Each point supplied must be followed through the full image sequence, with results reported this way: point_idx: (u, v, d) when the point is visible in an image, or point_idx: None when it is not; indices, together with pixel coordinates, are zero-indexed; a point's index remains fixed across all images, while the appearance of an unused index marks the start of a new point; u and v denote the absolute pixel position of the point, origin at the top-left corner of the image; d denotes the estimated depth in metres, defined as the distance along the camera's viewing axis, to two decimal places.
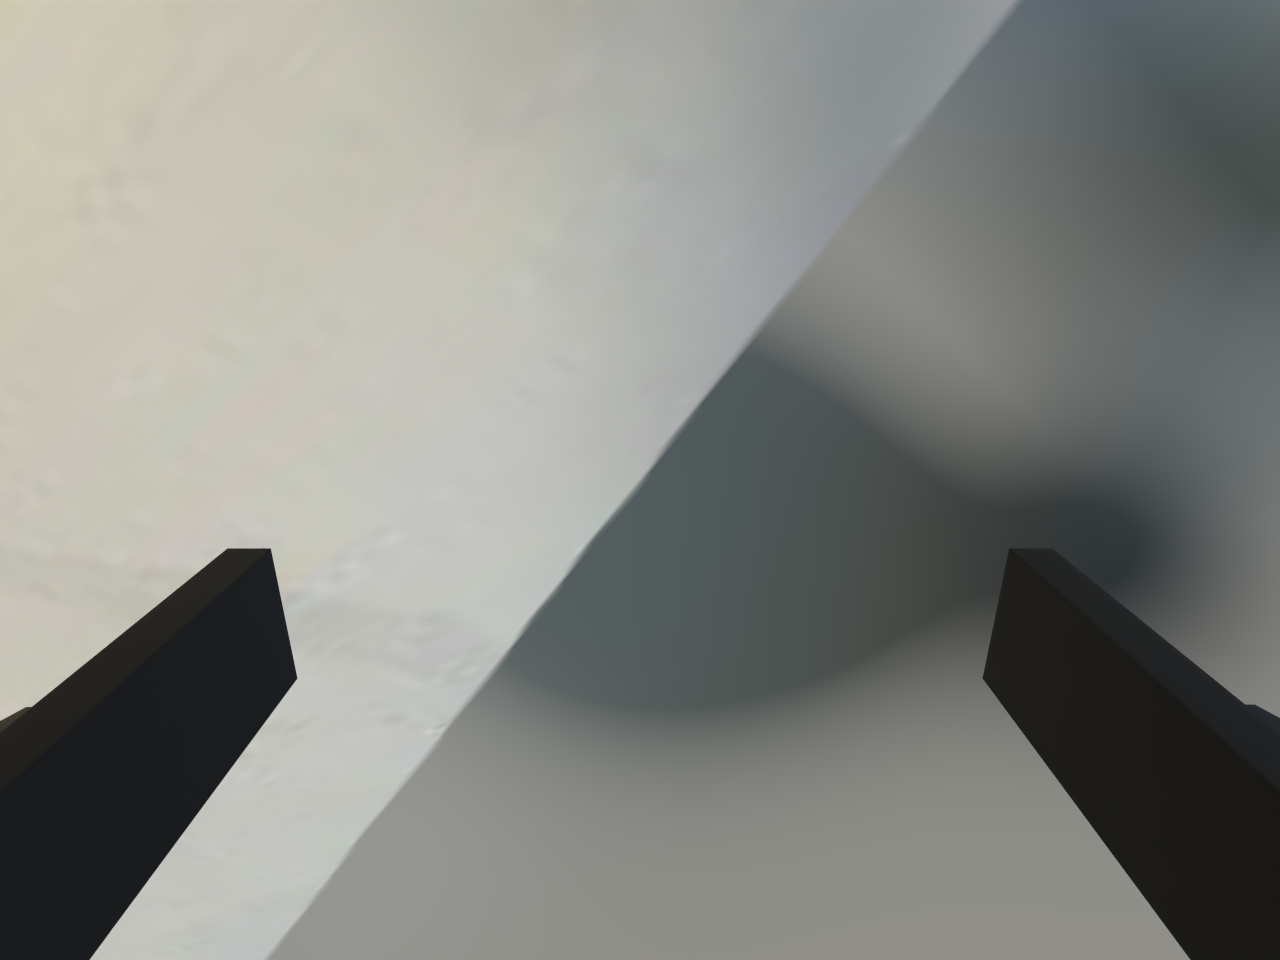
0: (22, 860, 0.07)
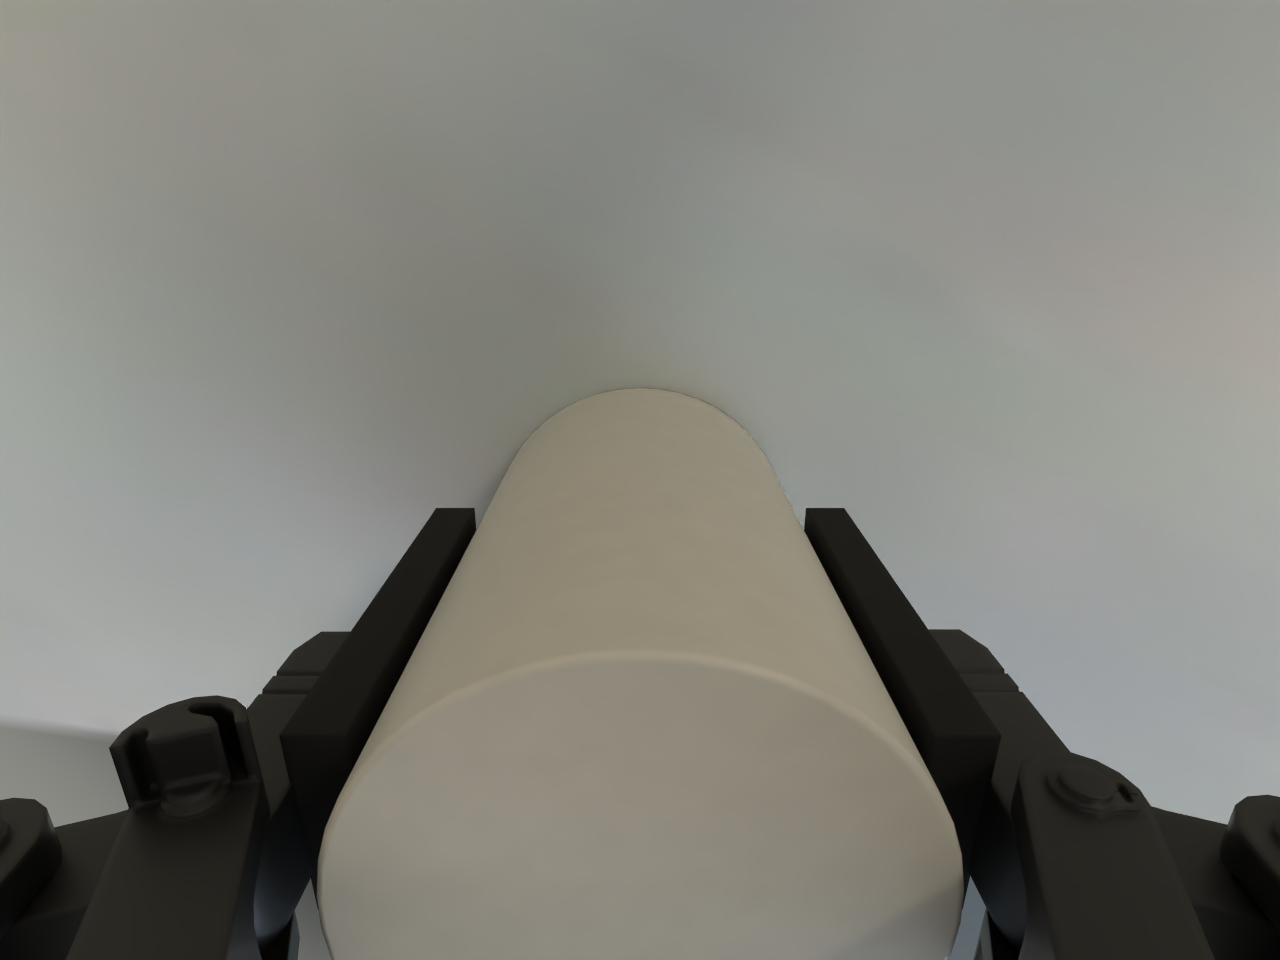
0: None
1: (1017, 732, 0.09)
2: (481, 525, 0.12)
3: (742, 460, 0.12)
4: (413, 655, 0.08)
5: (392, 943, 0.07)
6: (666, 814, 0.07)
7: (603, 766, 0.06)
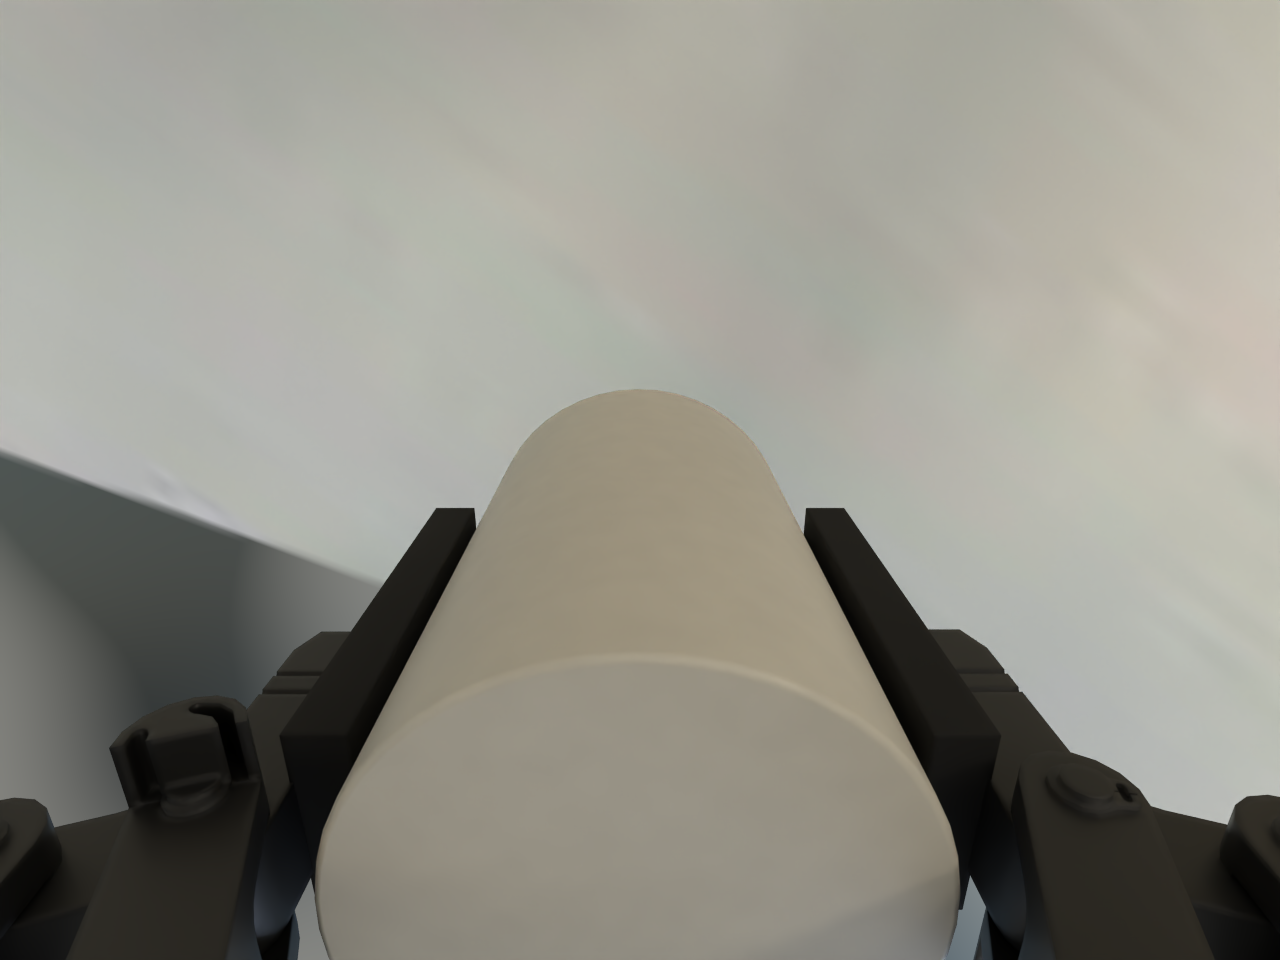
0: None
1: (1017, 732, 0.09)
2: (480, 526, 0.12)
3: (740, 461, 0.12)
4: (411, 656, 0.08)
5: (390, 944, 0.07)
6: (663, 815, 0.07)
7: (600, 768, 0.06)
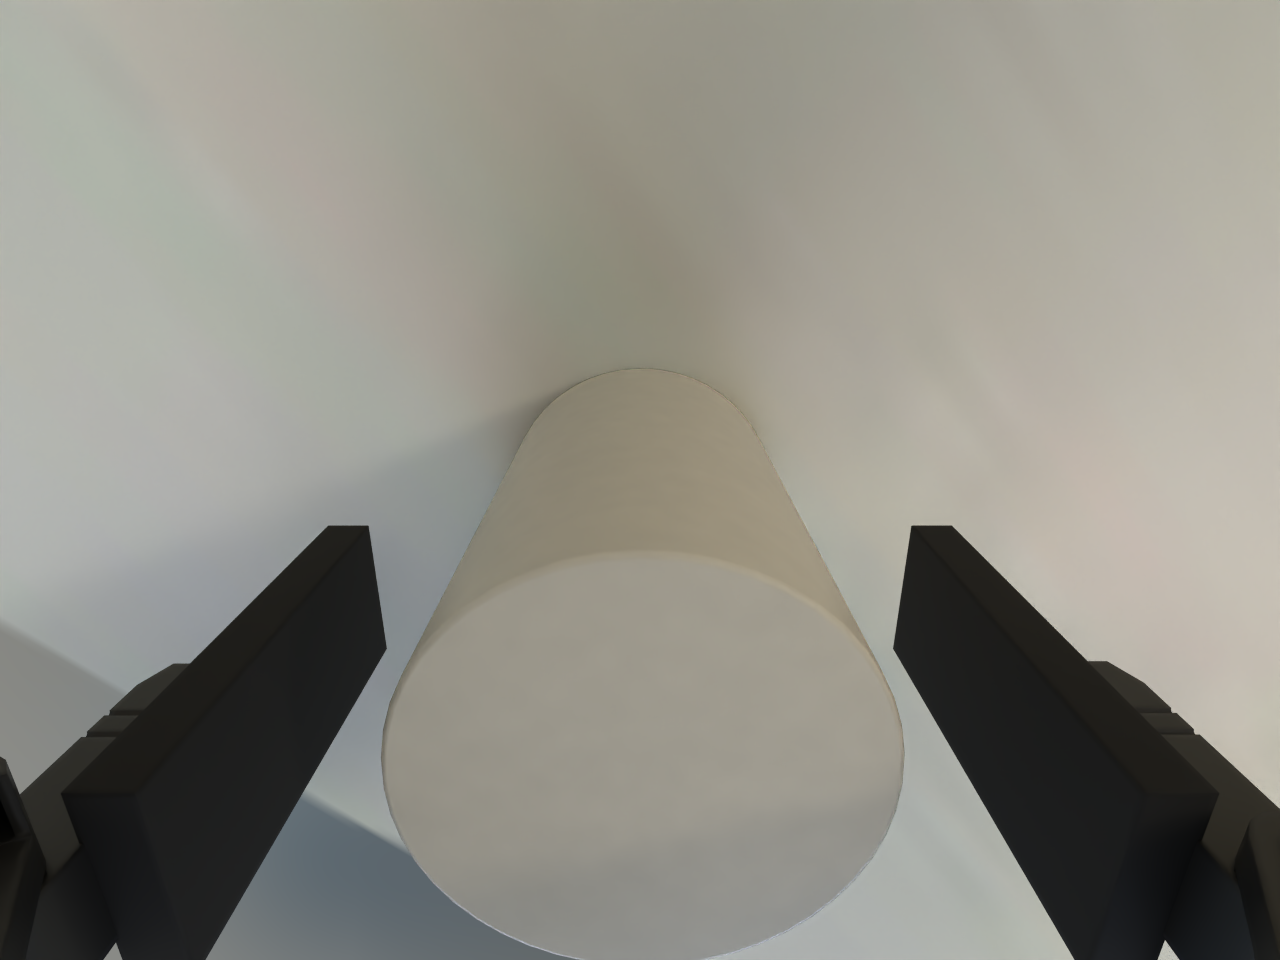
0: (205, 789, 0.08)
1: (1210, 783, 0.08)
2: (503, 483, 0.13)
3: (731, 428, 0.14)
4: (453, 577, 0.10)
5: (441, 801, 0.09)
6: (663, 688, 0.08)
7: (613, 647, 0.08)
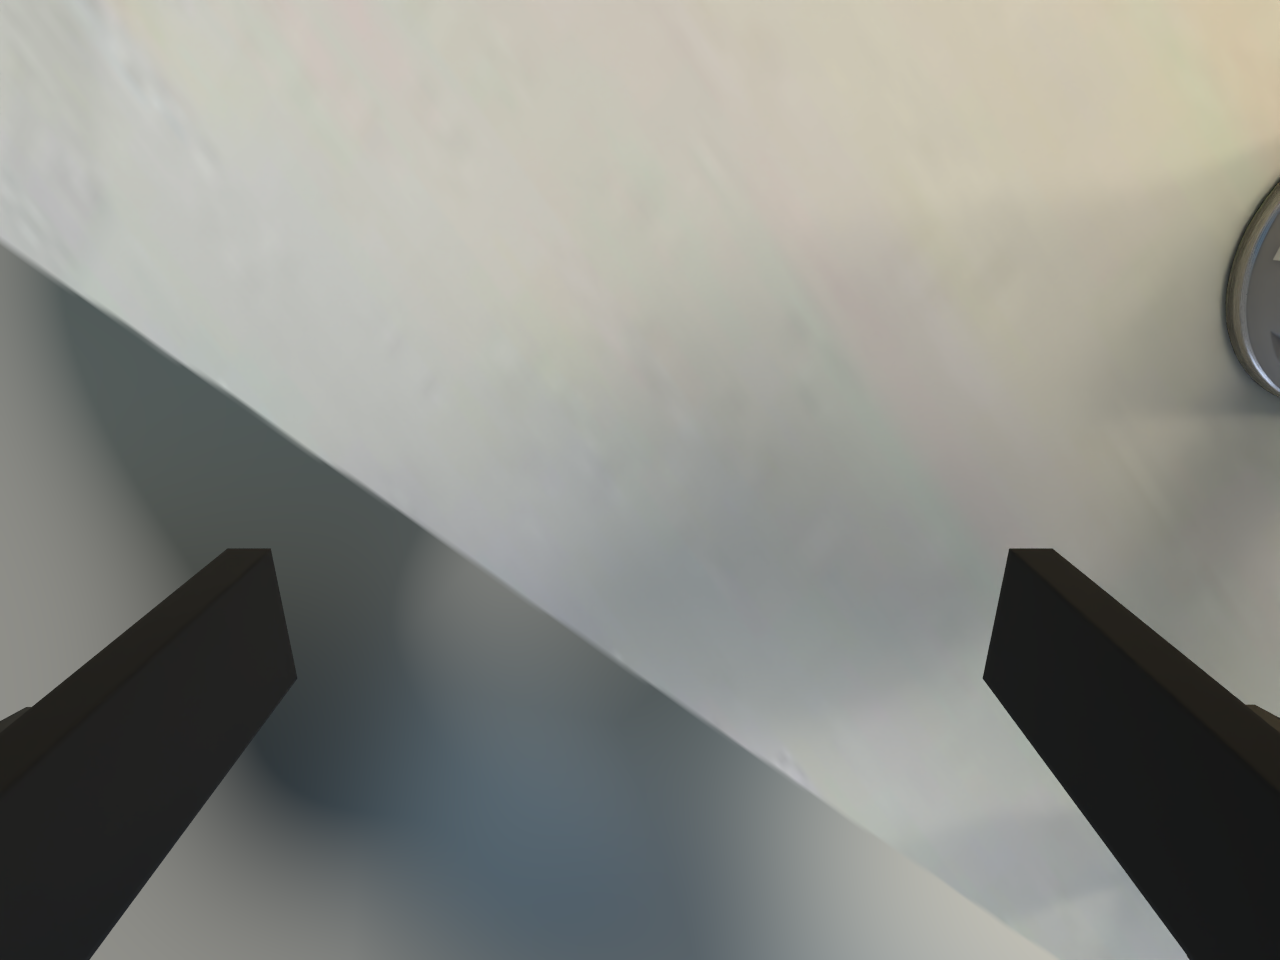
0: (21, 860, 0.07)
1: None
2: None
3: None
4: None
5: None
6: None
7: None
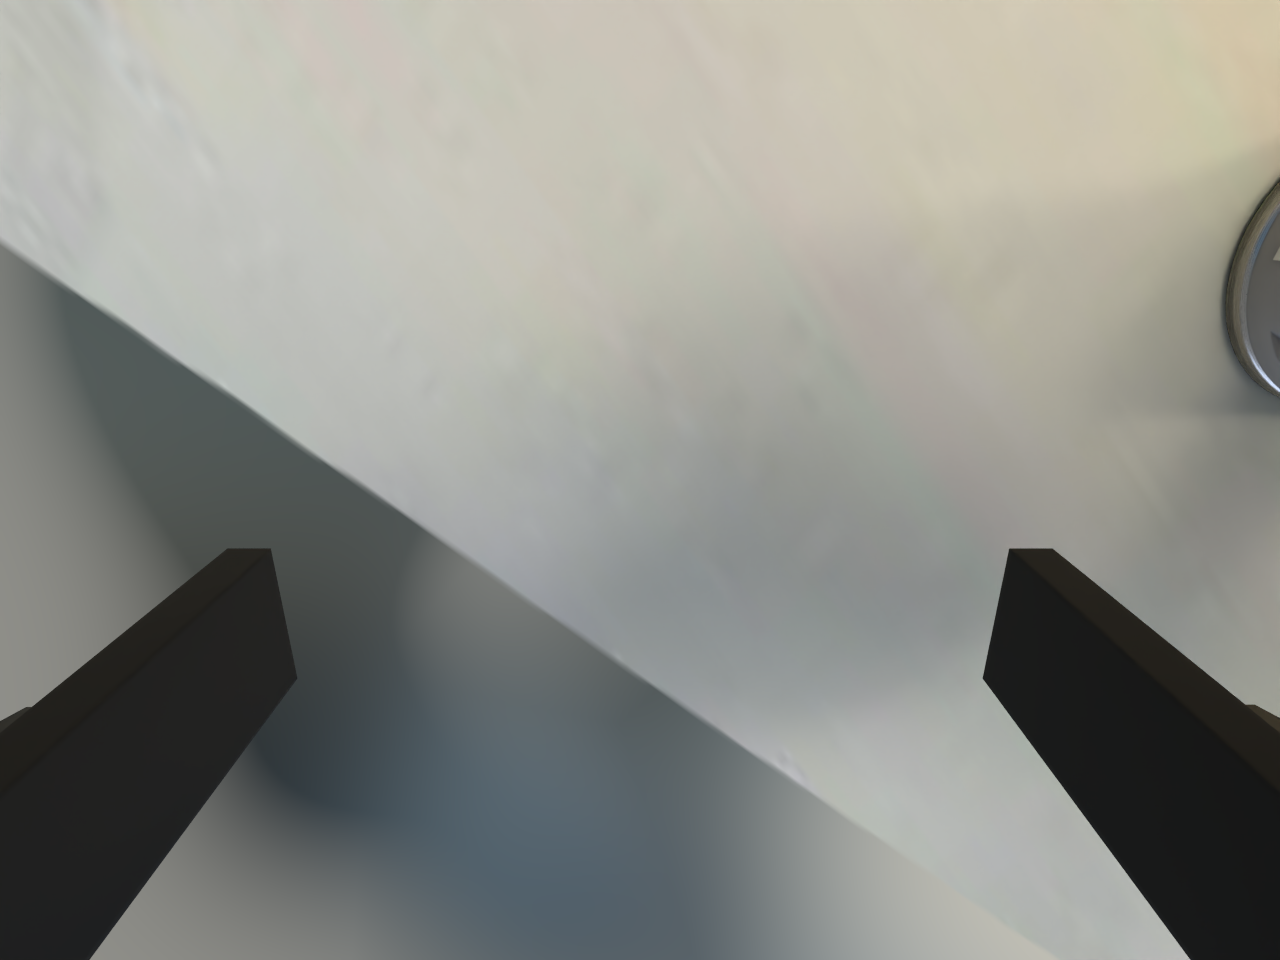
0: (21, 860, 0.07)
1: None
2: None
3: None
4: None
5: None
6: None
7: None
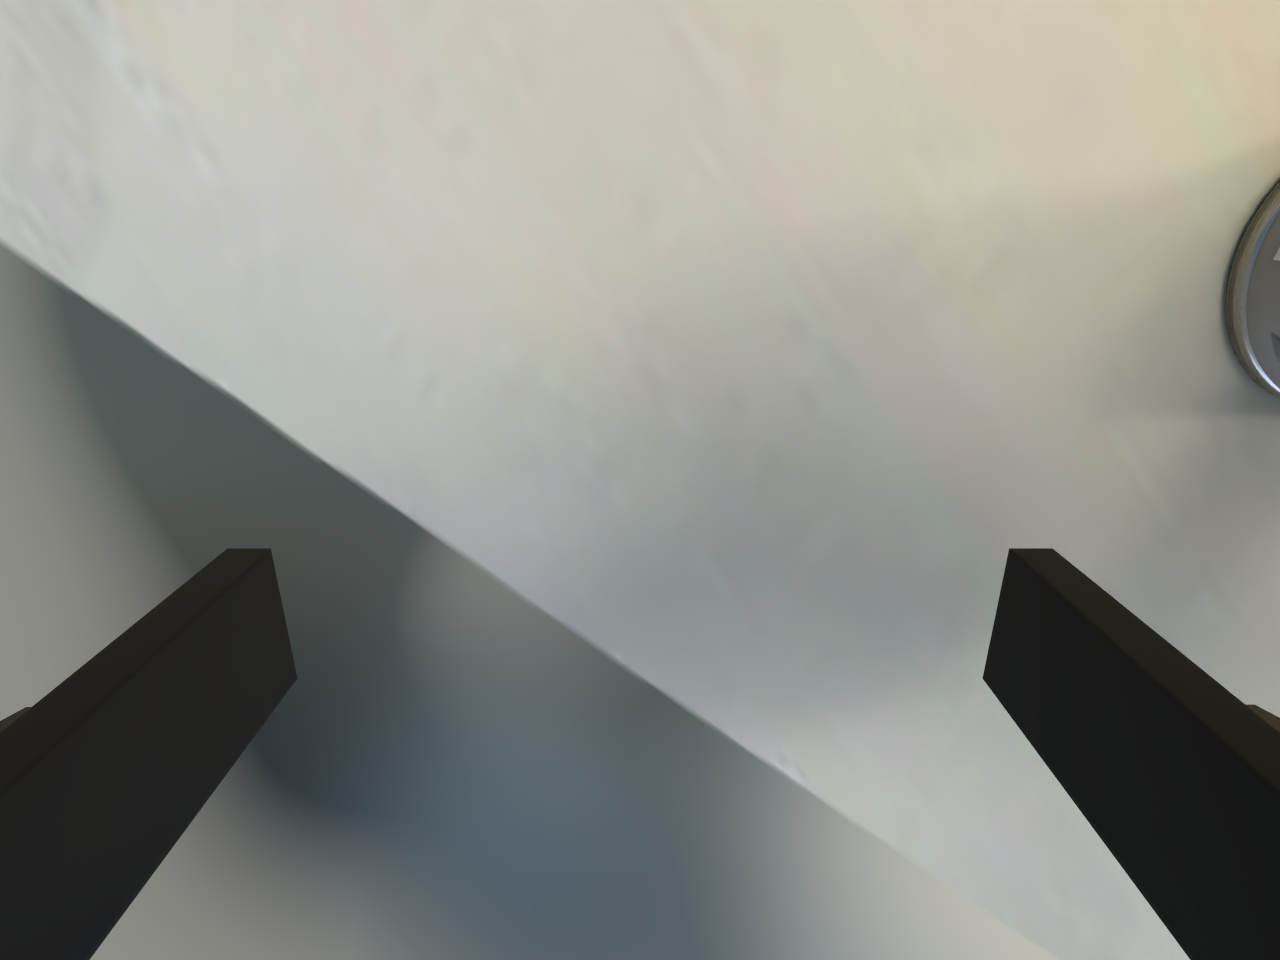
0: (21, 860, 0.07)
1: None
2: None
3: None
4: None
5: None
6: None
7: None
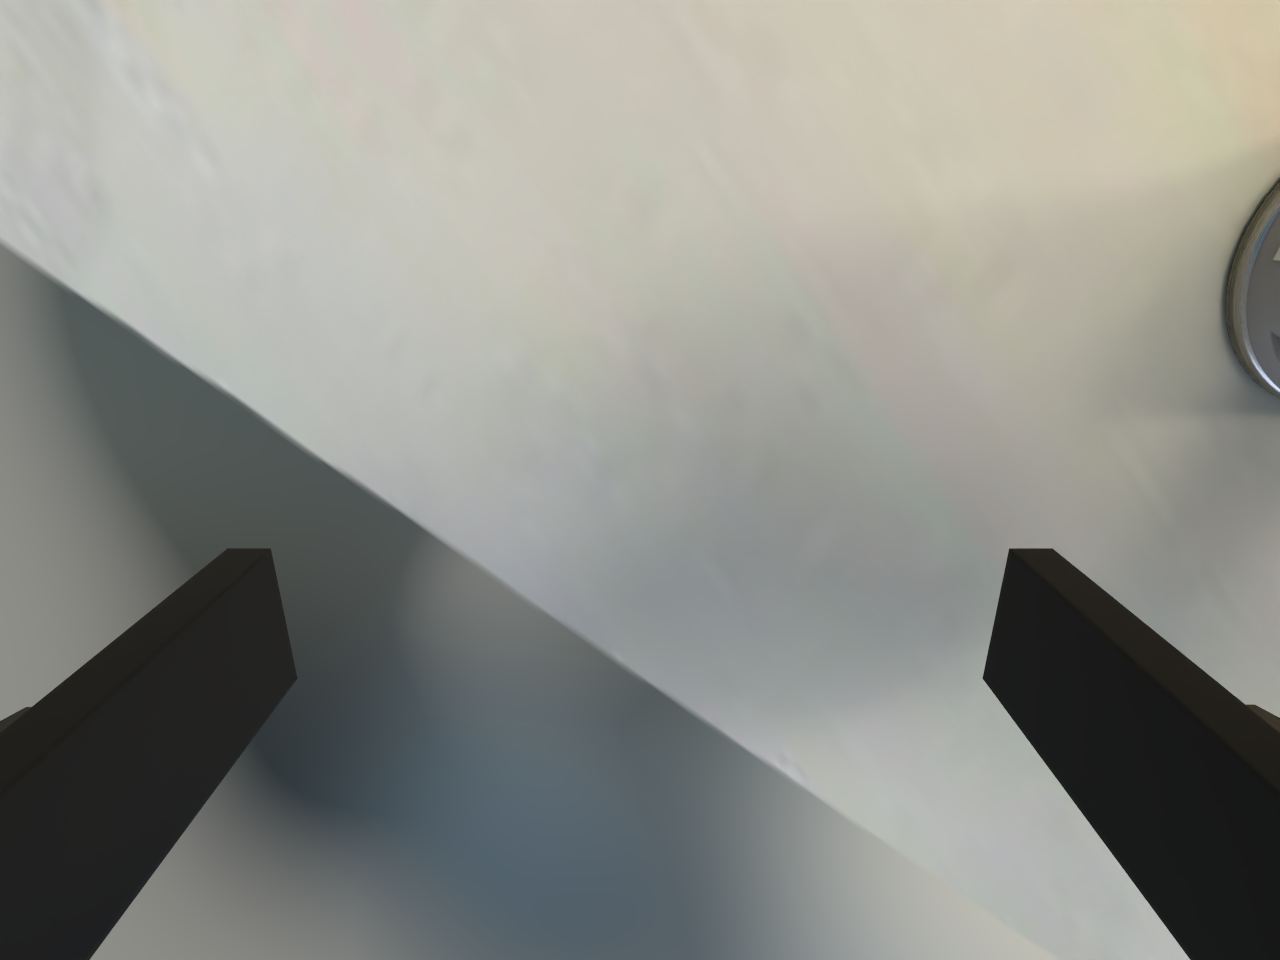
0: (21, 860, 0.07)
1: None
2: None
3: None
4: None
5: None
6: None
7: None
